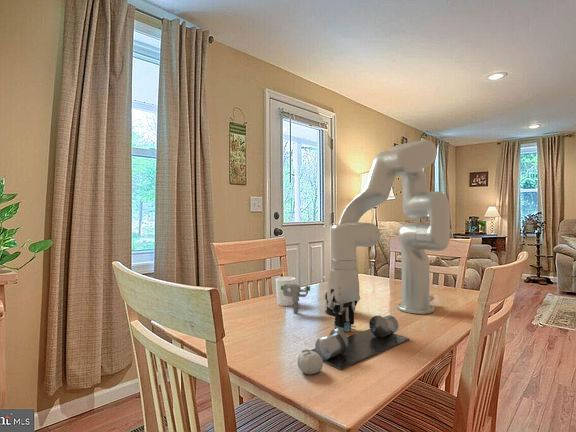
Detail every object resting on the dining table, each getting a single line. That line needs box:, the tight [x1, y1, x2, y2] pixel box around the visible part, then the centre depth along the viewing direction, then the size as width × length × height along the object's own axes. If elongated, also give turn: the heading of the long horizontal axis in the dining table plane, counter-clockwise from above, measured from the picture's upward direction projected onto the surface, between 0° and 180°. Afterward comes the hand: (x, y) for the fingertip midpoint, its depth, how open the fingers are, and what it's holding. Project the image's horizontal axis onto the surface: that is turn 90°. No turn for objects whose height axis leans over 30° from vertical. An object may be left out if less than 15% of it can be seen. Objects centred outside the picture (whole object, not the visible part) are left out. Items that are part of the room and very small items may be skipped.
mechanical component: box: [281, 283, 311, 315], centre depth 122 cm, size 3×10×10 cm, turn 79°
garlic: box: [297, 348, 324, 375], centre depth 78 cm, size 6×5×5 cm
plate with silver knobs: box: [308, 315, 410, 371], centre depth 92 cm, size 28×12×6 cm, turn 129°
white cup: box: [275, 276, 297, 307], centre depth 135 cm, size 8×8×10 cm
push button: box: [334, 302, 356, 333], centre depth 105 cm, size 7×5×10 cm
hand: (344, 324), depth 105 cm, fingers closed on push button, 3 cm apart
